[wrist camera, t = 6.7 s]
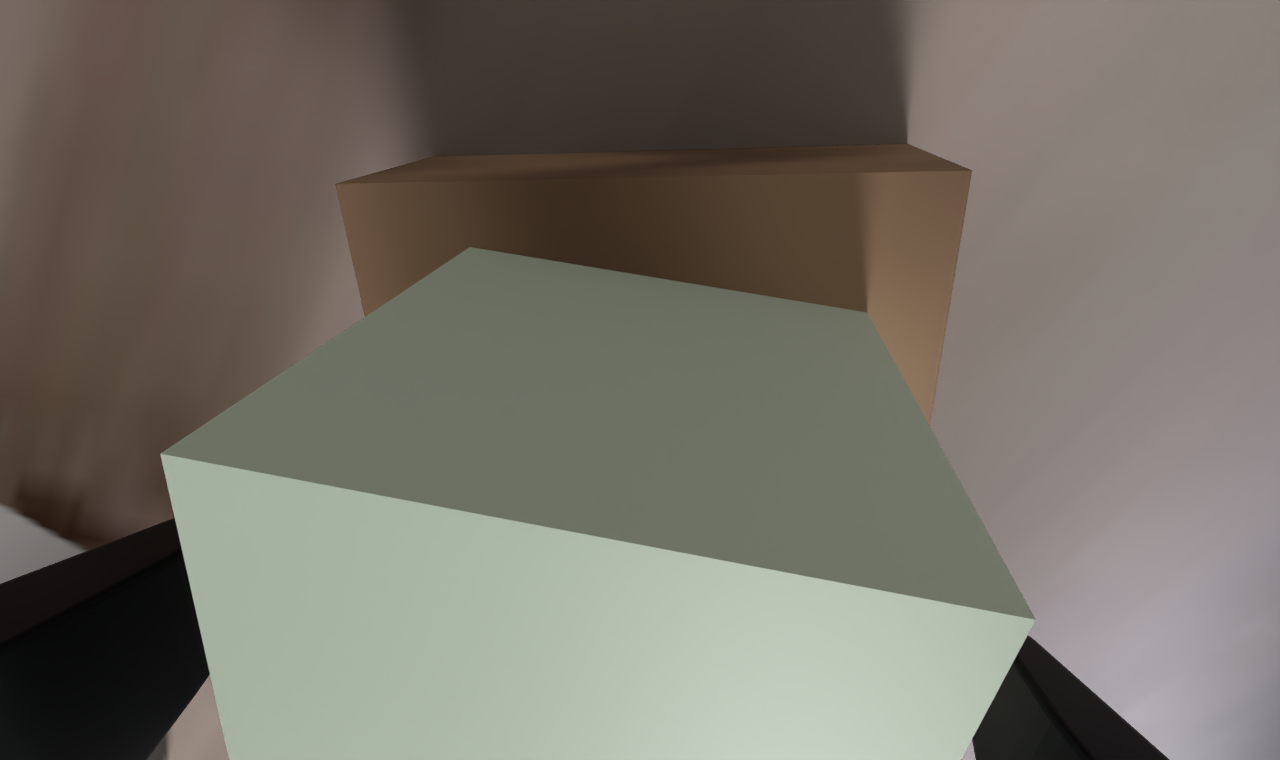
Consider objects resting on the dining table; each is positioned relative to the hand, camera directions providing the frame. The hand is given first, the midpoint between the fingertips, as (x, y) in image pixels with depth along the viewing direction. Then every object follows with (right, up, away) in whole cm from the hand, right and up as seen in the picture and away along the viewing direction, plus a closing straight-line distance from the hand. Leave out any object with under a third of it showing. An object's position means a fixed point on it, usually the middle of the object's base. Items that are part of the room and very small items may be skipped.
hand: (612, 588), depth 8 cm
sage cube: (0, +1, +3) cm, 3 cm away
